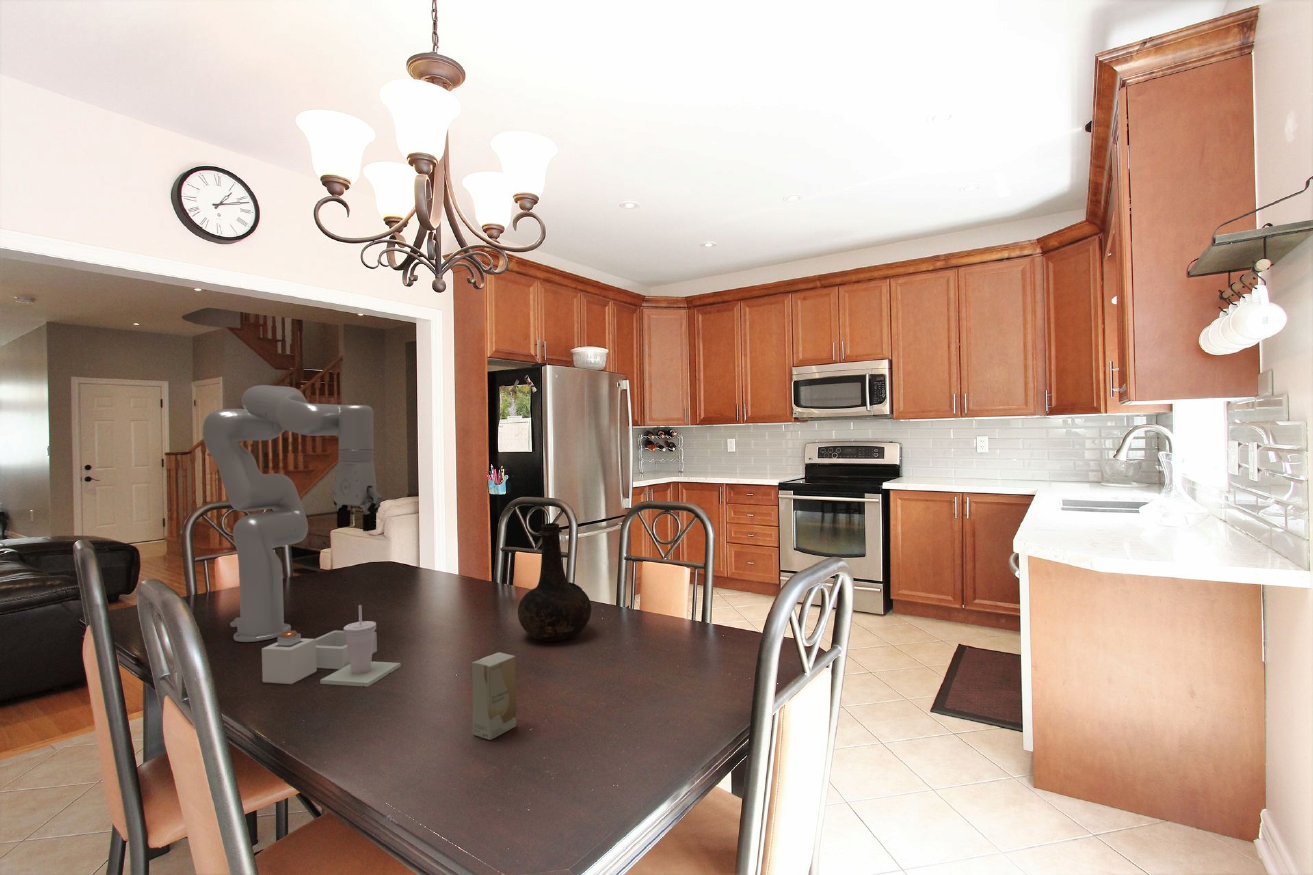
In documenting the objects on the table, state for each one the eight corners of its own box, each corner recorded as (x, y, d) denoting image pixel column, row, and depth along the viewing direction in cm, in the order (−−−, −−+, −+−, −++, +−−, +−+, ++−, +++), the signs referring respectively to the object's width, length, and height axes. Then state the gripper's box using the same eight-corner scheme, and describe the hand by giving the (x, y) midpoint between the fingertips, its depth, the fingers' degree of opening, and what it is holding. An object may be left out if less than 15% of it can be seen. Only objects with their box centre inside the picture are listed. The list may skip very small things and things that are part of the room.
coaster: (320, 683, 128) (320, 679, 128) (356, 664, 139) (356, 660, 139) (367, 686, 126) (367, 682, 126) (400, 666, 137) (400, 662, 137)
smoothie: (348, 678, 128) (346, 611, 128) (341, 670, 133) (339, 604, 133) (381, 671, 132) (379, 605, 132) (373, 662, 137) (371, 599, 137)
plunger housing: (262, 682, 130) (261, 648, 130) (288, 669, 137) (288, 637, 137) (291, 683, 128) (290, 650, 128) (316, 671, 135) (315, 638, 135)
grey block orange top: (278, 665, 131) (277, 634, 131) (289, 660, 134) (288, 630, 134) (290, 666, 131) (289, 635, 131) (301, 661, 134) (300, 630, 134)
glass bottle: (606, 633, 156) (603, 521, 156) (550, 653, 143) (547, 531, 143) (559, 620, 168) (556, 517, 168) (503, 638, 154) (500, 525, 154)
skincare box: (490, 741, 102) (488, 667, 102) (471, 735, 104) (469, 662, 104) (518, 725, 107) (516, 654, 107) (500, 719, 110) (498, 650, 110)
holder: (298, 666, 138) (297, 646, 138) (334, 649, 149) (334, 630, 149) (343, 669, 136) (342, 648, 136) (376, 651, 147) (376, 632, 147)
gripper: (319, 456, 149) (319, 527, 150) (365, 458, 141) (365, 534, 141) (348, 455, 156) (348, 523, 156) (393, 457, 147) (394, 529, 148)
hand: (356, 528), depth 149 cm, fingers open, 9 cm apart
